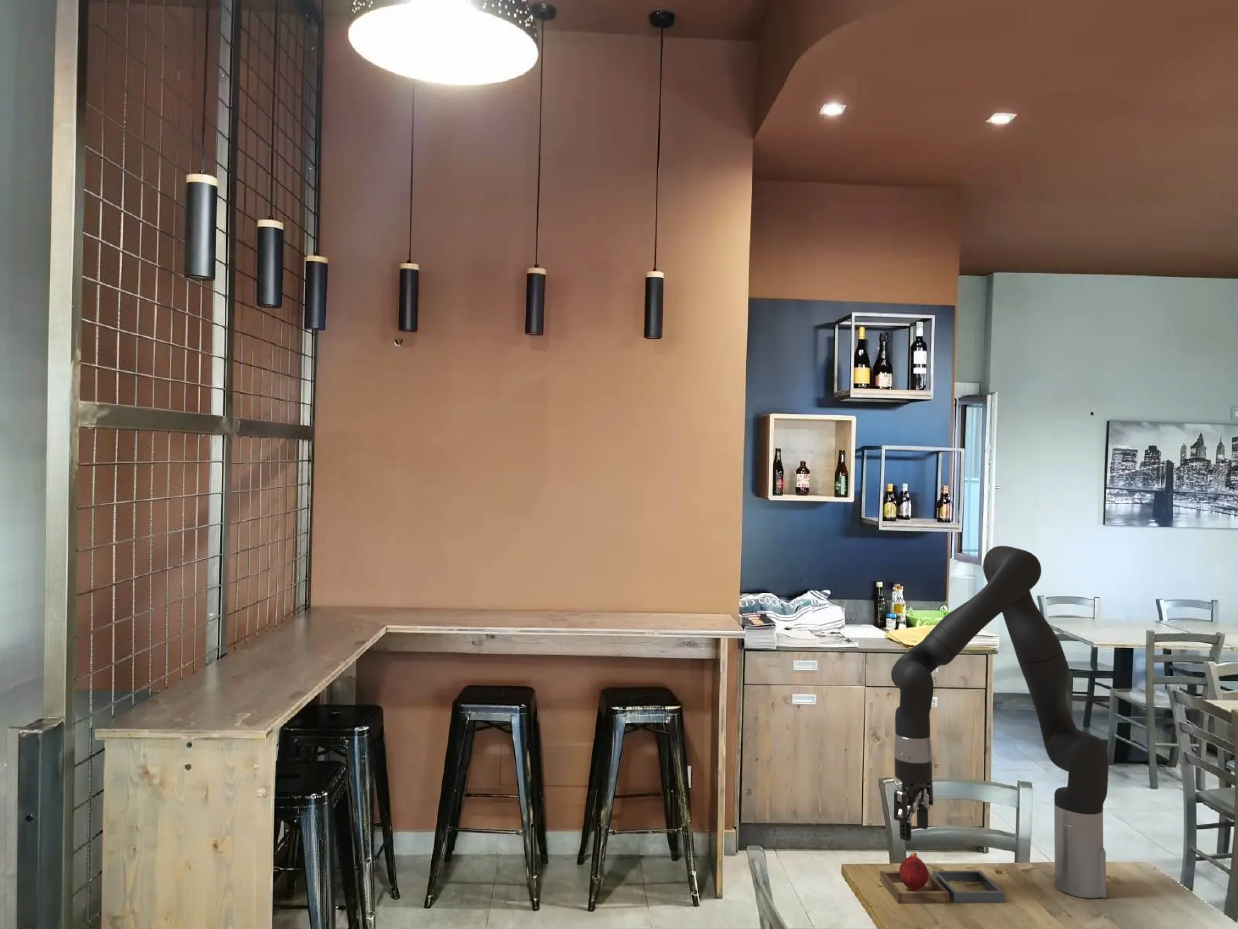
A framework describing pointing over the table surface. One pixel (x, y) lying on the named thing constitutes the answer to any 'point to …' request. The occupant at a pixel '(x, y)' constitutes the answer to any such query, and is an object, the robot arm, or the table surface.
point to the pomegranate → (913, 872)
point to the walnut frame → (914, 896)
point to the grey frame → (988, 896)
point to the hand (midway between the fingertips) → (914, 834)
